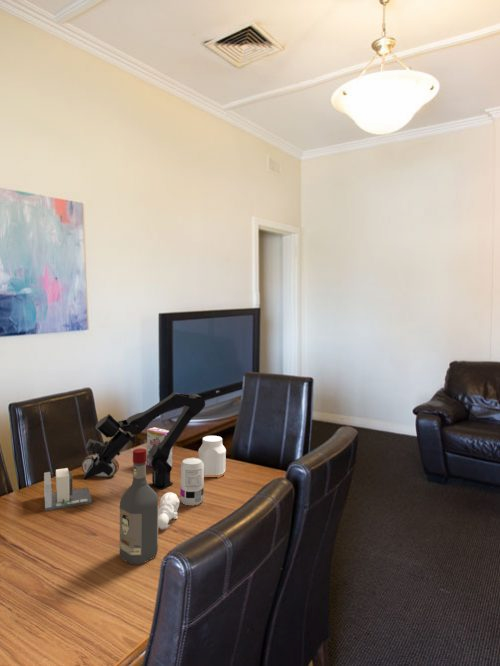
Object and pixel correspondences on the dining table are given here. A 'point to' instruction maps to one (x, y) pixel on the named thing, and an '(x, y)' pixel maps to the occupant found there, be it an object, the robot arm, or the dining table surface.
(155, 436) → the candy bar box
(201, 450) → the jar
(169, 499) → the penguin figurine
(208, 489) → the dining table surface
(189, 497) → the supplement can
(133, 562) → the liquor
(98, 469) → the robot arm
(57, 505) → the base
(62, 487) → the block
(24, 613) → the dining table surface
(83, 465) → the tin
